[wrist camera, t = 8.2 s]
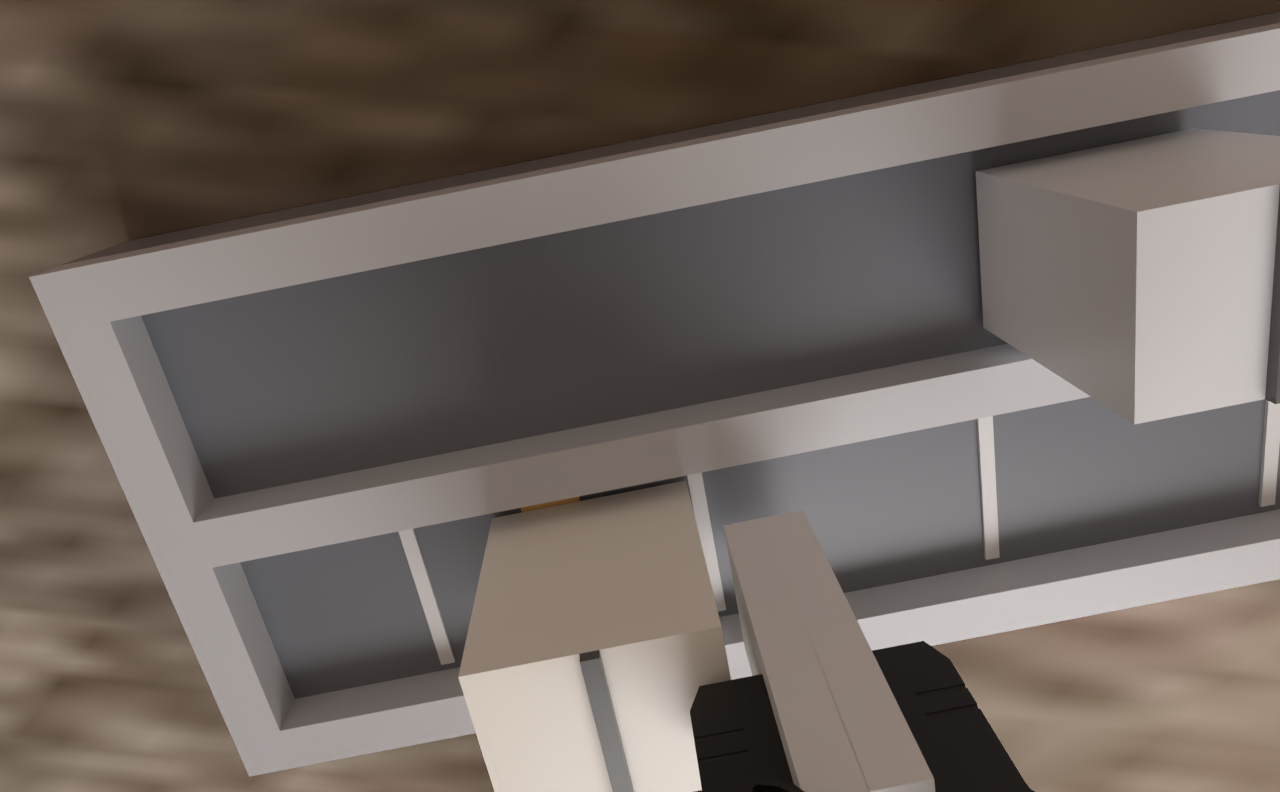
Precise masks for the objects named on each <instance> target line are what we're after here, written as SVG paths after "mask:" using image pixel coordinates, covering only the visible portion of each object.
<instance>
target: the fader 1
mask: <svg viewBox="0 0 1280 792" xmlns="http://www.w3.org/2000/svg"><path fill="white" fill-rule="evenodd" d="M458 678H459V681H460V684H461V688H462V691H463V694H464V697H465V700H466V703H467V707H468V710H469V713H470V716H471V719H472V722H473V726H474V729H475V732H476V735H477V738H478V741H479V744H480V748H481V751H482V754H483V757H484V760H485V763H486V767H487V770H488V773H489V776H490V779H491V782H492V785H493V789H494V792H694V791H700V790H702V787H701V780H700V774H699V768H698V761H697V755H696V748H695V741H694V736H693V729H692V723H691V716H690V709H691V707H692V704H693V701H694V699H695V696H696V694H697V691H698V688H699V686H702V685H707V684H713V683H718V682H723V681H728V680H731V676H730V671H729V665H728V660H727V654H726V649H725V643H724V638H723V633H722V627H721V623H720V619H719V615H718V610H717V606H716V602H715V598H714V594H713V590H712V586H711V582H710V578H709V573H708V569H707V565H706V561H705V557H704V553H703V549H702V545H701V541H700V536H699V532H698V528H697V524H696V520H695V516H694V512H693V508H692V504H691V499H690V495H689V491H688V487H687V483H686V481H681V482H676V483H671V484H665V485H660V486H655V487H650V488H645V489H640V490H635V491H629V492H624V493H619V494H614V495H609V496H604V497H599V498H593V499H588V500H583V501H578V502H573V503H568V504H563V505H557V506H552V507H547V508H542V509H537V510H532V511H527V512H521V513H516V514H511V515H506V516H501V517H496V518H492V521H491V525H490V530H489V535H488V540H487V544H486V549H485V554H484V558H483V563H482V568H481V572H480V577H479V582H478V586H477V591H476V596H475V600H474V605H473V610H472V615H471V619H470V624H469V629H468V633H467V638H466V643H465V647H464V652H463V657H462V661H461V666H460V671H459V675H458Z"/></svg>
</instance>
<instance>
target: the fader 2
mask: <svg viewBox="0 0 1280 792" xmlns="http://www.w3.org/2000/svg"><path fill="white" fill-rule="evenodd" d="M976 191H977V211H978V230H979V250H980V270H981V290H982V310H983V328H985V329H986V330H988V331H989V332H991V333H992V334H994V335H996V336H997V337H999V338H1000V339H1002V340H1003V341H1005V342H1006V343H1008V344H1010V345H1011V346H1013V347H1014V348H1016V349H1017V350H1019V351H1020V352H1022V353H1024V354H1025V355H1027V356H1028V357H1030V358H1031V359H1033V360H1035V361H1036V362H1038V363H1039V364H1041V365H1042V366H1044V367H1045V368H1047V369H1049V370H1050V371H1052V372H1053V373H1055V374H1056V375H1058V376H1059V377H1061V378H1063V379H1064V380H1066V381H1067V382H1069V383H1070V384H1072V385H1074V386H1075V387H1077V388H1078V389H1080V390H1081V391H1083V392H1084V393H1086V394H1088V395H1089V396H1091V397H1092V398H1094V399H1095V400H1097V401H1098V402H1100V403H1102V404H1103V405H1105V406H1106V407H1108V408H1109V409H1111V410H1112V411H1114V412H1116V413H1117V414H1119V415H1120V416H1122V417H1123V418H1125V419H1127V420H1128V421H1130V422H1131V423H1133V424H1134V425H1135V424H1140V423H1145V422H1150V421H1155V420H1160V419H1165V418H1171V417H1176V416H1181V415H1186V414H1191V413H1196V412H1202V411H1207V410H1212V409H1217V408H1222V407H1227V406H1232V405H1238V404H1243V403H1248V402H1253V401H1258V400H1263V399H1266V400H1268V401H1270V402H1272V403H1274V404H1279V403H1280V136H1274V135H1263V134H1251V133H1240V132H1229V131H1218V130H1207V129H1196V128H1192V129H1187V130H1182V131H1177V132H1172V133H1167V134H1162V135H1157V136H1152V137H1147V138H1142V139H1136V140H1131V141H1126V142H1121V143H1116V144H1111V145H1106V146H1101V147H1096V148H1091V149H1086V150H1081V151H1076V152H1071V153H1066V154H1061V155H1056V156H1051V157H1045V158H1040V159H1035V160H1030V161H1025V162H1020V163H1015V164H1010V165H1005V166H1000V167H995V168H990V169H985V170H980V171H976Z"/></svg>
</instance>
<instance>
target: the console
mask: <svg viewBox="0 0 1280 792" xmlns="http://www.w3.org/2000/svg"><path fill="white" fill-rule="evenodd" d="M1192 128H1196V129H1207V130H1218V131H1229V132H1240V133H1251V134H1263V135H1274V136H1280V12H1276V13H1271V14H1266V15H1261V16H1256V17H1251V18H1246V19H1241V20H1236V21H1231V22H1226V23H1221V24H1216V25H1211V26H1206V27H1201V28H1196V29H1191V30H1186V31H1180V32H1175V33H1170V34H1165V35H1160V36H1155V37H1150V38H1145V39H1140V40H1135V41H1130V42H1125V43H1120V44H1115V45H1110V46H1105V47H1100V48H1095V49H1090V50H1085V51H1080V52H1075V53H1070V54H1065V55H1060V56H1055V57H1050V58H1045V59H1040V60H1035V61H1030V62H1025V63H1020V64H1015V65H1010V66H1005V67H1000V68H995V69H990V70H985V71H980V72H974V73H969V74H964V75H959V76H954V77H949V78H944V79H939V80H934V81H929V82H924V83H919V84H914V85H909V86H904V87H899V88H894V89H889V90H884V91H879V92H874V93H869V94H864V95H859V96H854V97H849V98H844V99H839V100H834V101H829V102H824V103H819V104H814V105H809V106H804V107H799V108H794V109H789V110H784V111H779V112H773V113H768V114H763V115H758V116H753V117H748V118H743V119H738V120H733V121H728V122H723V123H718V124H713V125H708V126H703V127H698V128H693V129H688V130H683V131H678V132H673V133H668V134H663V135H658V136H653V137H648V138H643V139H638V140H633V141H628V142H623V143H618V144H613V145H608V146H603V147H598V148H593V149H588V150H583V151H578V152H573V153H567V154H562V155H557V156H552V157H547V158H542V159H537V160H532V161H527V162H522V163H517V164H512V165H507V166H502V167H497V168H492V169H487V170H482V171H477V172H472V173H467V174H462V175H457V176H452V177H447V178H442V179H437V180H432V181H427V182H422V183H417V184H412V185H407V186H402V187H397V188H392V189H387V190H382V191H377V192H372V193H366V194H361V195H356V196H351V197H346V198H341V199H336V200H331V201H326V202H321V203H316V204H311V205H306V206H301V207H296V208H291V209H286V210H281V211H276V212H271V213H266V214H261V215H256V216H251V217H246V218H241V219H236V220H231V221H226V222H221V223H216V224H211V225H206V226H201V227H196V228H191V229H186V230H181V231H176V232H171V233H166V234H160V235H155V236H150V237H145V238H140V239H135V240H130V241H126V242H124V243H121V244H118V245H115V246H113V247H110V248H107V249H104V250H102V251H99V252H96V253H93V254H91V255H88V256H85V257H82V258H80V259H77V260H74V261H71V262H69V263H66V264H63V265H61V266H58V267H55V268H52V269H50V270H47V271H44V272H41V273H39V274H36V275H33V276H30V277H29V278H30V280H31V283H32V285H33V287H34V290H35V292H36V294H37V296H38V299H39V301H40V303H41V305H42V308H43V310H44V312H45V314H46V317H47V319H48V321H49V324H50V326H51V328H52V330H53V333H54V335H55V337H56V339H57V342H58V344H59V346H60V348H61V351H62V353H63V355H64V358H65V360H66V362H67V364H68V367H69V369H70V371H71V373H72V376H73V378H74V380H75V383H76V385H77V387H78V389H79V392H80V394H81V396H82V398H83V401H84V403H85V405H86V407H87V410H88V412H89V414H90V417H91V419H92V421H93V423H94V426H95V428H96V430H97V432H98V435H99V437H100V439H101V441H102V444H103V446H104V448H105V451H106V453H107V455H108V457H109V460H110V462H111V464H112V466H113V469H114V471H115V473H116V475H117V478H118V480H119V482H120V485H121V487H122V489H123V491H124V494H125V496H126V498H127V500H128V503H129V505H130V507H131V510H132V512H133V514H134V516H135V519H136V521H137V523H138V525H139V528H140V530H141V532H142V534H143V537H144V539H145V541H146V544H147V546H148V548H149V550H150V553H151V555H152V557H153V559H154V562H155V564H156V566H157V568H158V571H159V573H160V575H161V578H162V580H163V582H164V584H165V587H166V589H167V591H168V593H169V596H170V598H171V600H172V602H173V605H174V607H175V609H176V612H177V614H178V616H179V618H180V621H181V623H182V625H183V627H184V630H185V632H186V634H187V637H188V639H189V641H190V643H191V646H192V648H193V650H194V652H195V655H196V657H197V659H198V661H199V664H200V666H201V668H202V671H203V673H204V675H205V677H206V680H207V682H208V684H209V686H210V689H211V691H212V693H213V695H214V698H215V700H216V702H217V705H218V707H219V709H220V711H221V714H222V716H223V718H224V720H225V723H226V725H227V727H228V729H229V732H230V734H231V736H232V739H233V741H234V743H235V745H236V748H237V750H238V752H239V754H240V757H241V759H242V761H243V764H244V766H245V768H246V770H247V773H248V775H249V777H250V776H256V775H261V774H266V773H271V772H276V771H282V770H287V769H292V768H297V767H303V766H308V765H313V764H318V763H323V762H329V761H334V760H339V759H344V758H349V757H355V756H360V755H365V754H370V753H376V752H381V751H386V750H391V749H396V748H402V747H407V746H412V745H417V744H422V743H428V742H433V741H438V740H443V739H449V738H454V737H459V736H464V735H469V734H475V733H476V732H475V729H474V726H473V722H472V719H471V716H470V713H469V710H468V707H467V703H466V700H465V697H464V694H463V691H462V688H461V684H460V681H459V678H458V675H459V671H460V666H461V661H462V657H463V652H464V647H465V643H466V638H467V633H468V629H469V624H470V619H471V615H472V610H473V605H474V600H475V596H476V591H477V586H478V582H479V577H480V572H481V568H482V563H483V558H484V554H485V549H486V544H487V540H488V535H489V530H490V525H491V521H492V518H496V517H501V516H506V515H511V514H516V513H521V512H527V511H532V510H537V509H542V508H547V507H552V506H557V505H563V504H568V503H573V502H578V501H583V500H588V499H593V498H599V497H604V496H609V495H614V494H619V493H624V492H629V491H635V490H640V489H645V488H650V487H655V486H660V485H665V484H671V483H676V482H681V481H686V483H687V487H688V491H689V495H690V499H691V504H692V508H693V512H694V516H695V520H696V524H697V528H698V532H699V536H700V541H701V545H702V549H703V553H704V557H705V561H706V565H707V569H708V573H709V578H710V582H711V586H712V590H713V594H714V598H715V602H716V606H717V610H718V615H719V619H720V623H721V627H722V633H723V638H724V643H725V649H726V654H727V660H728V665H729V671H730V676H731V680H734V679H739V678H744V677H749V676H752V672H751V668H750V665H749V661H748V657H747V653H746V650H745V646H744V640H743V634H742V629H741V623H740V617H739V612H738V606H737V600H736V595H735V589H734V583H733V578H732V572H731V566H730V561H729V555H728V549H727V544H726V538H725V532H724V527H723V525H729V524H734V523H739V522H744V521H749V520H754V519H759V518H765V517H770V516H775V515H780V514H785V513H790V512H795V511H801V510H803V511H804V513H805V515H806V517H807V519H808V521H809V523H810V525H811V527H812V529H813V531H814V533H815V535H816V537H817V539H818V541H819V543H820V545H821V547H822V550H823V552H824V554H825V556H826V558H827V560H828V562H829V564H830V566H831V568H832V570H833V572H834V574H835V576H836V578H837V580H838V582H839V584H840V586H841V589H842V591H843V593H844V595H845V597H846V599H847V601H848V603H849V605H850V607H851V609H852V611H853V613H854V615H855V617H856V619H857V621H858V623H859V625H860V628H861V630H862V632H863V634H864V636H865V638H866V640H867V642H868V644H869V646H870V648H871V650H872V651H873V650H878V649H884V648H889V647H894V646H899V645H904V644H910V643H915V642H920V641H924V642H926V643H927V644H929V645H930V646H934V645H939V644H944V643H949V642H954V641H960V640H965V639H970V638H975V637H981V636H986V635H991V634H996V633H1001V632H1007V631H1012V630H1017V629H1022V628H1027V627H1033V626H1038V625H1043V624H1048V623H1054V622H1059V621H1064V620H1069V619H1074V618H1080V617H1085V616H1090V615H1095V614H1100V613H1106V612H1111V611H1116V610H1121V609H1127V608H1132V607H1137V606H1142V605H1147V604H1153V603H1158V602H1163V601H1168V600H1173V599H1179V598H1184V597H1189V596H1194V595H1200V594H1205V593H1210V592H1215V591H1220V590H1226V589H1231V588H1236V587H1241V586H1246V585H1252V584H1257V583H1262V582H1267V581H1273V580H1278V579H1280V403H1279V404H1274V403H1272V402H1270V401H1268V400H1266V399H1263V400H1258V401H1253V402H1248V403H1243V404H1238V405H1232V406H1227V407H1222V408H1217V409H1212V410H1207V411H1202V412H1196V413H1191V414H1186V415H1181V416H1176V417H1171V418H1165V419H1160V420H1155V421H1150V422H1145V423H1140V424H1135V425H1134V424H1133V423H1131V422H1130V421H1128V420H1127V419H1125V418H1123V417H1122V416H1120V415H1119V414H1117V413H1116V412H1114V411H1112V410H1111V409H1109V408H1108V407H1106V406H1105V405H1103V404H1102V403H1100V402H1098V401H1097V400H1095V399H1094V398H1092V397H1091V396H1089V395H1088V394H1086V393H1084V392H1083V391H1081V390H1080V389H1078V388H1077V387H1075V386H1074V385H1072V384H1070V383H1069V382H1067V381H1066V380H1064V379H1063V378H1061V377H1059V376H1058V375H1056V374H1055V373H1053V372H1052V371H1050V370H1049V369H1047V368H1045V367H1044V366H1042V365H1041V364H1039V363H1038V362H1036V361H1035V360H1033V359H1031V358H1030V357H1028V356H1027V355H1025V354H1024V353H1022V352H1020V351H1019V350H1017V349H1016V348H1014V347H1013V346H1011V345H1010V344H1008V343H1006V342H1005V341H1003V340H1002V339H1000V338H999V337H997V336H996V335H994V334H992V333H991V332H989V331H988V330H986V329H985V328H983V310H982V290H981V270H980V250H979V230H978V211H977V191H976V171H980V170H985V169H990V168H995V167H1000V166H1005V165H1010V164H1015V163H1020V162H1025V161H1030V160H1035V159H1040V158H1045V157H1051V156H1056V155H1061V154H1066V153H1071V152H1076V151H1081V150H1086V149H1091V148H1096V147H1101V146H1106V145H1111V144H1116V143H1121V142H1126V141H1131V140H1136V139H1142V138H1147V137H1152V136H1157V135H1162V134H1167V133H1172V132H1177V131H1182V130H1187V129H1192Z"/></svg>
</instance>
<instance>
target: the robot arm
mask: <svg viewBox="0 0 1280 792" xmlns="http://www.w3.org/2000/svg"><path fill="white" fill-rule="evenodd" d="M723 527H724V532H725V538H726V544H727V549H728V555H729V561H730V566H731V572H732V578H733V583H734V589H735V595H736V600H737V606H738V612H739V617H740V623H741V629H742V634H743V640H744V646H745V650H746V653H747V657H748V661H749V665H750V668H751V672H752V676H749V677H744V678H739V679H734V680H728V681H723V682H718V683H713V684H707V685H702V686H699V688H698V691H697V694H696V696H695V699H694V701H693V704H692V707H691V709H690V716H691V723H692V729H693V736H694V741H695V748H696V755H697V761H698V768H699V774H700V780H701V787H702V792H1034V791H1033V790H1031V789H1030V788H1029V787H1028V785H1027V784H1026V783H1025V781H1024V780H1023V778H1022V777H1021V775H1020V773H1019V772H1018V770H1017V768H1016V767H1015V765H1014V764H1013V762H1012V760H1011V759H1010V757H1009V755H1008V754H1007V752H1006V750H1005V749H1004V747H1003V746H1002V744H1001V742H1000V741H999V739H998V737H997V736H996V734H995V732H994V731H993V729H992V728H991V726H990V724H989V723H988V721H987V719H986V718H985V716H984V715H983V713H982V711H981V710H980V709H978V707H977V703H976V701H975V700H974V698H973V697H972V695H971V693H970V692H969V690H968V688H967V689H966V687H965V684H964V682H963V680H962V679H961V677H960V675H959V674H958V672H957V670H956V669H955V667H954V666H953V664H952V662H951V661H950V659H948V658H947V657H946V656H944V655H943V654H941V653H940V652H939V651H937V650H936V649H934V648H933V647H931V646H930V645H929V644H927V643H926V642H924V641H920V642H915V643H910V644H904V645H899V646H894V647H889V648H884V649H878V650H873V651H872V650H871V648H870V646H869V644H868V642H867V640H866V638H865V636H864V634H863V632H862V630H861V628H860V625H859V623H858V621H857V619H856V617H855V615H854V613H853V611H852V609H851V607H850V605H849V603H848V601H847V599H846V597H845V595H844V593H843V591H842V589H841V586H840V584H839V582H838V580H837V578H836V576H835V574H834V572H833V570H832V568H831V566H830V564H829V562H828V560H827V558H826V556H825V554H824V552H823V550H822V547H821V545H820V543H819V541H818V539H817V537H816V535H815V533H814V531H813V529H812V527H811V525H810V523H809V521H808V519H807V517H806V515H805V513H804V511H803V510H801V511H795V512H790V513H785V514H780V515H775V516H770V517H765V518H759V519H754V520H749V521H744V522H739V523H734V524H729V525H723Z"/></svg>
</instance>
